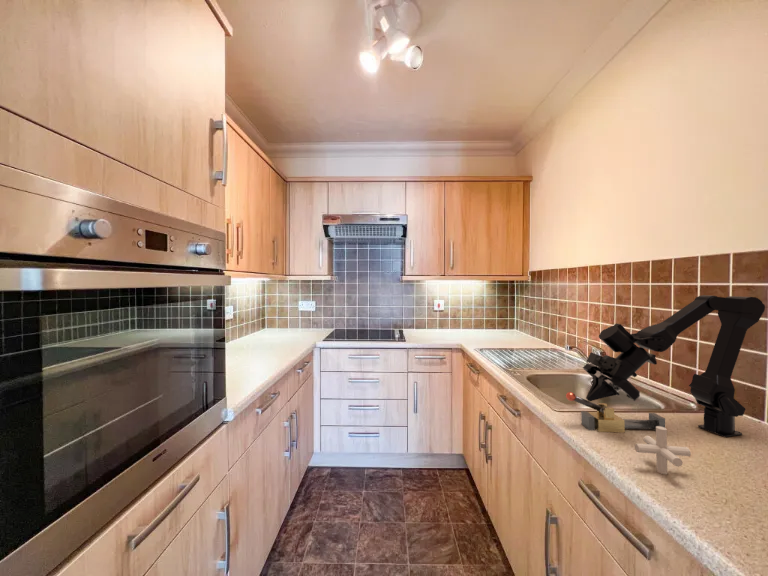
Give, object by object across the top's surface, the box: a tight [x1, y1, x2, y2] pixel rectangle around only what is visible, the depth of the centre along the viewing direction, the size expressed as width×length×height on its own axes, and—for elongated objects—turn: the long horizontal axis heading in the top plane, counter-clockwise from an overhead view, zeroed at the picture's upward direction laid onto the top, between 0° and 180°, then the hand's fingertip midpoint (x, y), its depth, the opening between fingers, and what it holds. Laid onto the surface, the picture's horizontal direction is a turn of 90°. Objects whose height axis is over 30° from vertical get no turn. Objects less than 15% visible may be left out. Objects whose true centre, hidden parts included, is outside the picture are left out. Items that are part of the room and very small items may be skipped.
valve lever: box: [565, 391, 608, 415], centre depth 93 cm, size 3×3×13 cm
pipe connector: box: [633, 426, 692, 475], centre depth 70 cm, size 10×10×10 cm
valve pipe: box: [580, 402, 666, 434], centre depth 92 cm, size 21×6×6 cm, turn 84°
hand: (587, 399), depth 93 cm, fingers closed
